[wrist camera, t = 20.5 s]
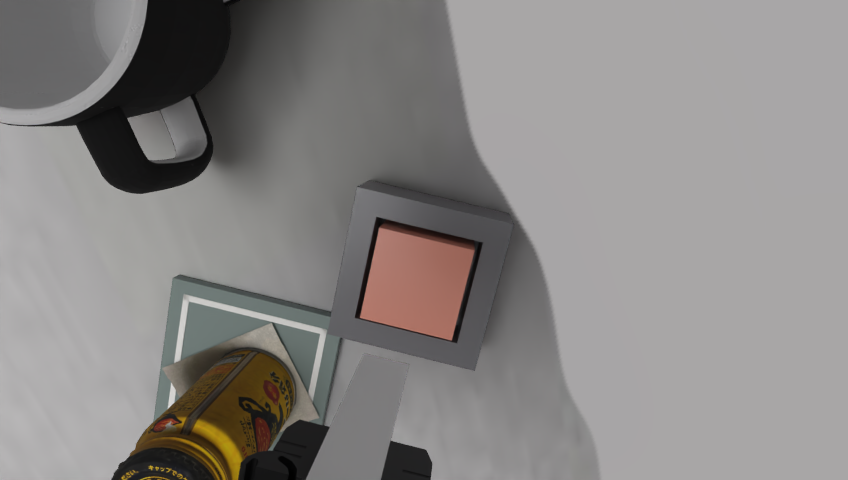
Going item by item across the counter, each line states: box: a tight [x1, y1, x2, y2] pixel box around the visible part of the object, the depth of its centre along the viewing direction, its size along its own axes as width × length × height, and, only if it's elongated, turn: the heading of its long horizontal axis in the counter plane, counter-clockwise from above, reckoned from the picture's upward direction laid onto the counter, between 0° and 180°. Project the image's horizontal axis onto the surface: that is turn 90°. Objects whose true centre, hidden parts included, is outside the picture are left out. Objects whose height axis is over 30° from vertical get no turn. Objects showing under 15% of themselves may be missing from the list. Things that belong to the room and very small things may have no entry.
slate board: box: [153, 275, 341, 451], centre depth 38 cm, size 13×12×1 cm
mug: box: [0, 0, 240, 194], centre depth 28 cm, size 16×16×12 cm
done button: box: [360, 220, 475, 340], centre depth 32 cm, size 5×5×3 cm
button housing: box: [327, 180, 514, 371], centre depth 33 cm, size 9×9×4 cm
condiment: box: [112, 323, 319, 480], centre depth 31 cm, size 7×8×12 cm
